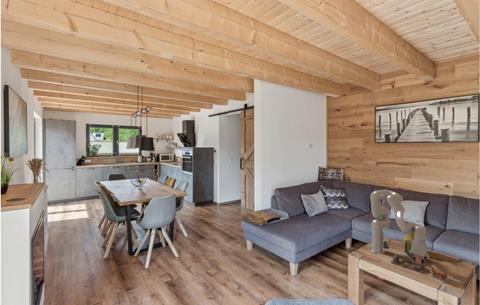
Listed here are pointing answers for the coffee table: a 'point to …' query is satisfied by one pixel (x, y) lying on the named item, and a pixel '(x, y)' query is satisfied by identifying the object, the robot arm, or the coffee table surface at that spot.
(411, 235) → the pitcher
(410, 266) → the press base
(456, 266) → the coffee table surface
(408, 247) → the tea box
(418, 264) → the salmon pink rectangular box
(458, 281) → the coffee table surface
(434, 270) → the bull figurine
